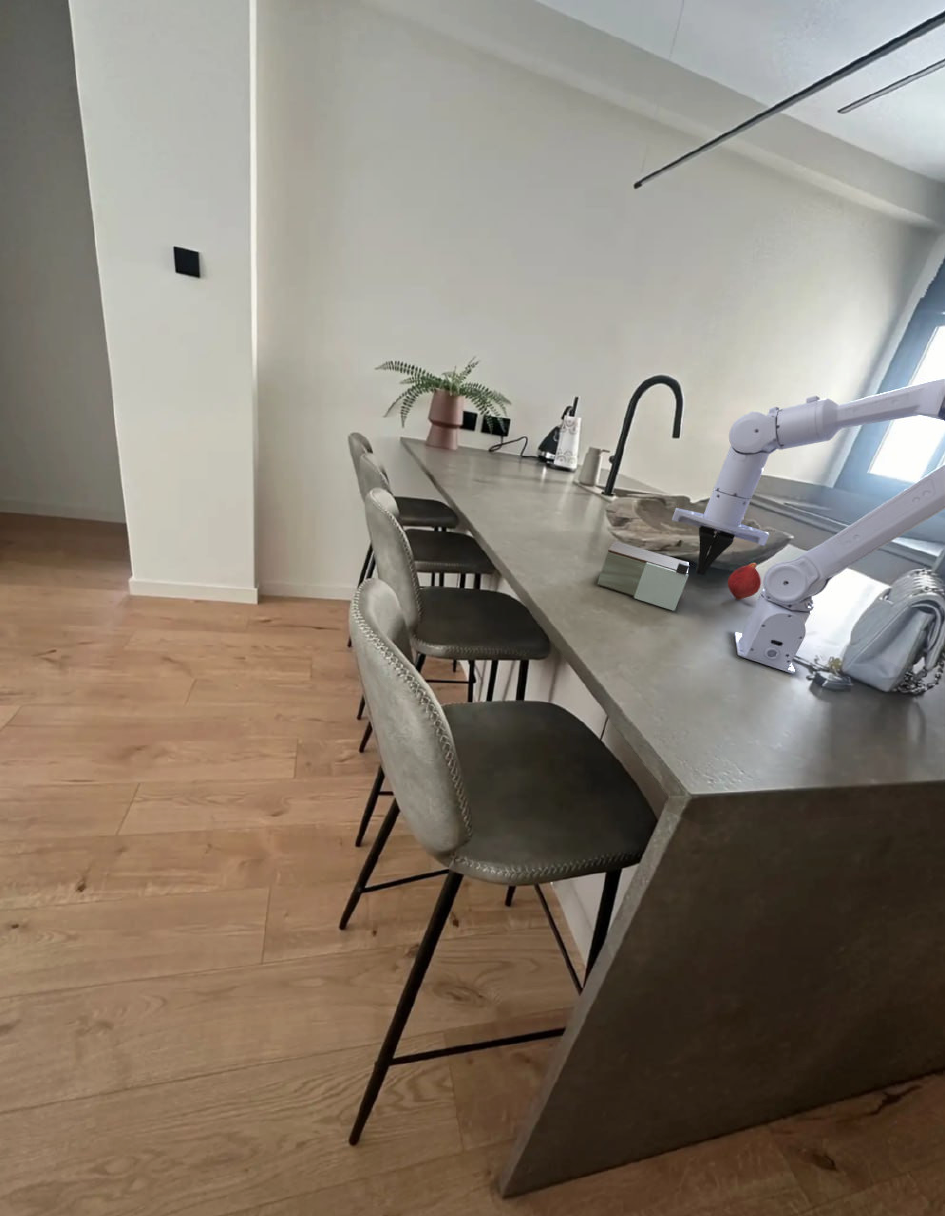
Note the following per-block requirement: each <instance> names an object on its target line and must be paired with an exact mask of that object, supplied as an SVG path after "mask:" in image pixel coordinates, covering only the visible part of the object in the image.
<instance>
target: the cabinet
mask: <svg viewBox="0 0 945 1216" xmlns="http://www.w3.org/2000/svg"><path fill="white" fill-rule="evenodd" d="M646 562H647V563H651V564H654V565H657V566H661V567H664V568H667V569H671V570H674V571H676V570H677V567H678V565H679V562H681V563H685V564H688V565H689V562H688V561H685V560H682V559H678V558H675V557H672V556H668V555H665V554H662V553H658V552H655V551H651V550H648V549H644V548H642V547H641V548H640V547H638V546H634V545H631V544H628V543H624V542H622V541H621V542H620V541H617V540H614V541H613V543H612V544H611V545H610V547H609V548H608V550H607V552H606V556H605V559H604V562H603V565H602V568H601V571H600V574H599V577H598V580H597V584H596V585H597V586H599V587H602V588H605V589H607V590H608V589H609V590H612V591H614V592H618V593H620V594H624V595H627V596H630V597H633V598H634V596H635V593H636V590H637V588H638V585H639V582H640V579H641V576H642V573H643V571H644V568H645V565H646ZM686 574H687V575H688V576H689V569H688V570H687V573H686Z"/></svg>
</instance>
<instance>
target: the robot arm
mask: <svg viewBox="0 0 945 1216" xmlns="http://www.w3.org/2000/svg"><path fill="white" fill-rule="evenodd" d="M805 401H806V402H805V403H801V404H796V405H792V406H788V407H784V408H780V407H778V406H773V407H770V408H769V409H768V413H767V414H765V413H762V412H759V411H755V410H754V411H750V412H749V413H746V414H743V415H742V416H739V418H737V419H735V422H733V424H732V425H731V427H730V430H729V434H728V440H729V444H730V446H729V449H728V451H727V454H726V457H725V459H724V461H723V464H722V466H721V468H720V471H719V474H718V477H717V479H716V482H715V485H714V487H713V490H712V493H711V495H710V496H709V497H710V498H709V499H708V502H707V505H706V507H705V510H704V513H702V512H697V511H692V510H687V509H684V508H678V507H676V508H675V509H674V513H673V515H672V517H671V521H672V522H677V523H682V524H687V525H689V526H694V527H697V528H698V536H699V537H698V538H699V539H698V540H699V551H698V559H697V565H696V570H695V574H697V575H701V576H706V574H707V572H708V570H709V568H710V567H711V566H712V565H713V564H714V563H715V561H716V560H717V558H719V556H720V555H721V554H723V553H724V551H726V550H727V549H728V548H730V547H731V545H732V544H733V543H734V541H735V538H736V539H741V540H744V541H747V542H751V543H755V544H757V545H759V546H763V547H765V545H766V544H767V542H768V539H769V537H770V533H769V532H768V531H766V530H762V529H759V528H755V527H752V526H748V525H746V524H744V523H743V524H742V522H743V520H744V518H745V515H746V512H747V510H748V507H749V505H750V503H751V500H752V497H753V495H754V493H755V491H756V488H757V486H758V484H759V481H760V479H761V476H762V474H763V471H764V469H765V466H766V464H767V461H768V459H769V456H770V455H771V454H773V453H775V452H776V450H779V451H780V450H781V451H782V450H787V449H793V448H798V447H802V446H808V445H814V444H819V443H823V442H829V441H831V440H832V439H833V438H834V437H835V436H836V435H837V434H838V432H840V431H841V430H843V429H846V428H847V429H848V428H852V427H859V426H864V425H870V424H875V423H882V422H886V421H887V422H888V421H893V420H899V419H906V418H911V417H919V418H923V419H927V420H932V421H937V422H940V423H944V424H945V377H941V378H936V379H932V380H927V381H924V382H921V383H916V384H913V385H909V386H905V387H901V388H897V389H893V390H890V391H886V392H883V393H878V394H875V395H870V396H867V397H864V398H860V399H855V400H852V401H849V402H844V403H840V404H838V403H836V401H834V400H832V399H830V398H828V397H826V398H820V396H817V395H814V396H810V397H809V396H808V397H807V398H806V399H805ZM944 510H945V462H944V463H943V464H941V465H940V466H939V467H937V468H935V469H934V470H933V471H931V472H929V473H928V474H926V475H924V476H923V477H922V478H920V479H918V480H917V481H916V482H914V483H913V484H911V485H909V486H908V487H907V488H905V489H903V490H902V491H900V492H899V493H897V494H895V495H894V496H893V497H891V498H889V499H888V500H887V501H885V502H883V503H882V504H880V505H878V507H876V508H874V509H872V510H871V511H870V512H868V513H867V514H865V515H864V516H862V517H860V518H858V519H857V520H856V521H854V522H852V523H851V524H849V525H848V526H846V527H845V528H843V529H842V530H841V531H839V532H837V533H836V534H834V535H833V536H831V537H829V538H828V539H826V540H825V541H823V542H822V543H820V544H818V545H817V546H815V547H813V548H811V549H809V550H807V551H805V552H804V553H801V554H800V555H799V556H797V557H796V558H793V559H789V560H783V561H779V562H776V563H774V564H773V565H771V566H770V567H769V568H768V569H767V571H765V573H764V576H763V581H762V584H763V585H762V586H763V589H761V591H760V594H759V596H758V598H757V600H756V602H755V605H754V606H753V609H752V611H751V613H750V615H749V618H748V620H747V622H746V624H745V626H744V628H743V630H742V633H741V632H739V631H735V632H734V634H733V635H734V640H735V646H736V647H735V648H736V652H737V656H739V657H741V658H744V659H747V660H750V661H753V662H755V663H759V664H762V665H765V666H768V667H771V668H774V669H777V670H780V671H782V672H786V673H789V674H795V673H796V670H795V667H794V665H793V661H794V659H795V657H796V655H797V653H798V651H799V649H800V648H801V645H802V643H803V641H804V639H805V638H806V635H807V634H806V633H807V632H806V631H807V629H806V623H807V621H808V619H809V617H810V616H811V614H812V611H813V610H814V607H815V605H814V599H813V597H814V596H817V595H819V594H820V593H822V592H823V591H824V590H825V589H826V588H827V586H828V585H829V582H830V581H831V580H832V579H833V578H835V577H836V576H837V575H839V574H841V573H842V572H843V571H845V570H846V569H848V568H849V567H851V566H853V565H855V564H856V563H857V562H859V561H861V560H862V559H865V558H866V557H867V556H869V555H871V554H872V553H874V552H876V551H877V550H880V549H881V548H883V547H884V546H885V545H888V544H889V543H891V542H893V541H894V540H896V539H897V538H899V537H901V536H903V535H905V533H907V532H909V531H911V530H913V529H914V528H916V527H918V526H919V525H920V524H922V523H924V522H926V521H927V520H929V519H930V518H933V517H934V516H936V515H937V514H939V513H941V512H942V511H944Z"/></svg>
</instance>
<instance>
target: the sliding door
mask: <svg viewBox="0 0 945 1216" xmlns="http://www.w3.org/2000/svg"><path fill="white" fill-rule="evenodd" d="M689 567H690V565H689V563H688V564H685V563H681V562H679V565H678V567H677V570H676V571H674V570H671V569H667V568H664V567H661V566H657V565H654V564H651V563H647V562H646V565H645V568H644V571H643V573H642V576H641V579H640V582H639V585H638V588H637V590H636V593H635V596H634V597H633V599H636V600H638V601H642V602H644V603H648V604H651V605H654V606H658V607H661V608H663V609H667V610H670V611H673V612H675V611H676V608H677V606H678V603H679V601H680V598H681V595H682V594H683V591H684V588H685V586H686V583H687V581H688V578H689V574H688V575H687V574H686V573H687V570H688V571H689Z"/></svg>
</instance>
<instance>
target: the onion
mask: <svg viewBox="0 0 945 1216" xmlns="http://www.w3.org/2000/svg"><path fill="white" fill-rule="evenodd" d="M727 579H728V580H727V587H728V589H729V591H730V593H731V594H732V596H733V597H734V598H735V600H737V601H741V600H743V599H747V598H750V597H752V596H754V595H755V594H757V593H758V592H759V590H760V588H761V585H762V578H761V575H760V573H759V571H758V570H757V563H756V562H752V563H749V564H747V565H744V566H743V565H742V566H740V567H739V568H737V569H735V570H734V571H733V572H732V573H731V574H730V575H729V577H728V578H727Z"/></svg>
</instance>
